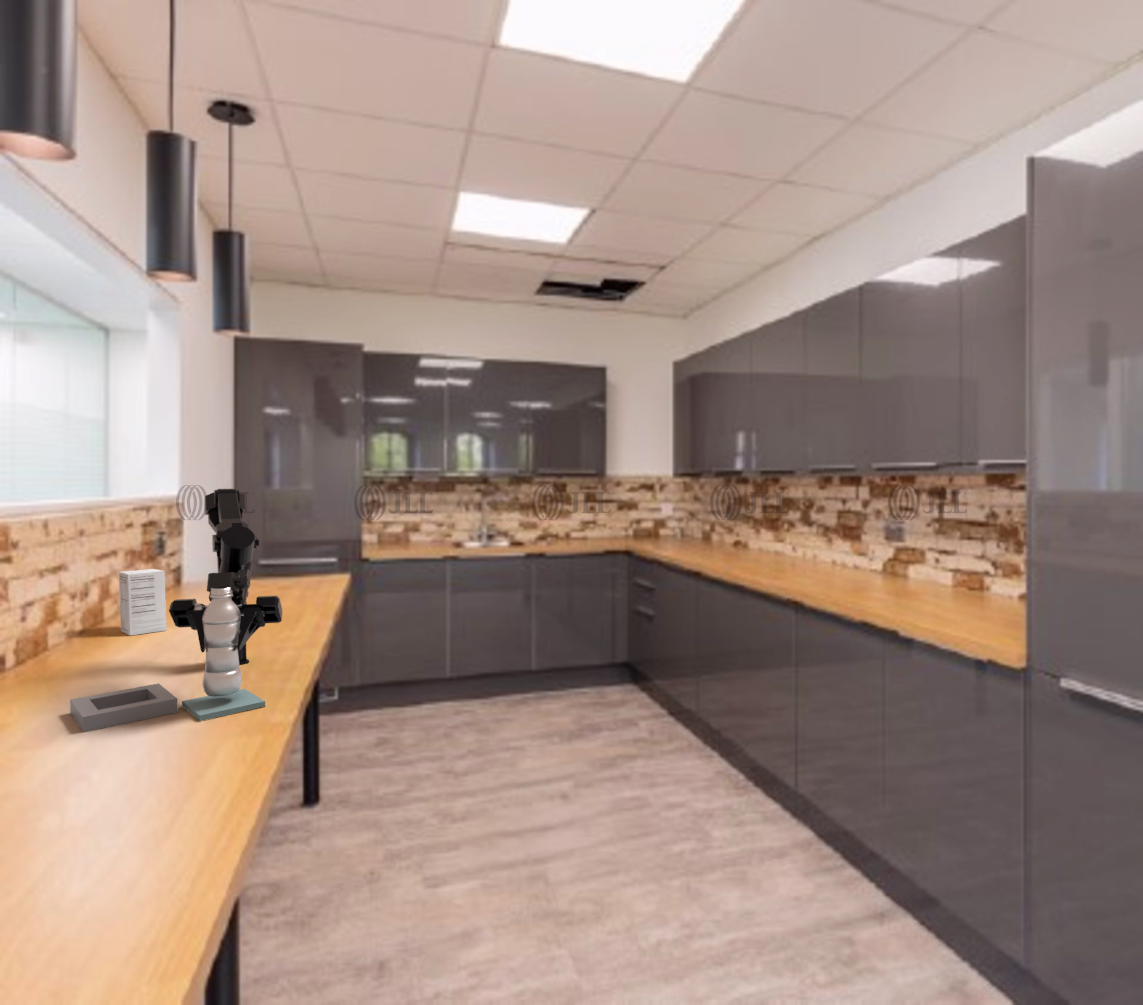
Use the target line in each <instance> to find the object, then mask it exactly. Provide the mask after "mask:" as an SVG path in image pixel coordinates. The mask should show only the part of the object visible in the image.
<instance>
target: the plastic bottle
mask: <svg viewBox="0 0 1143 1005" xmlns="http://www.w3.org/2000/svg"><path fill="white" fill-rule="evenodd" d="M230 588H231V587H230ZM230 588H223V589H213V588H211V595H210V598H212V601H209V603H208V604H207V605H208V606H207V608H206V609H205V611H204V613H203V616H202V623H203V629H204V634H205V644H206V649H205V664H204V672H203V677H202V689H203V692H204V693H205V694H206V696H214V697H218V696H226V695H231V694H234V693H236V692H237V691H238V690H240V689H241V687H242V682H243V681H242V680H243V677H242V671H241V667H240V664H239V657H238V649H237V643H238V634H239V627H240V620H241V613H240V610H239V608H238V607H237V606H236V604H235V603H234V602H233V601H232V599H231V597H233V589H230Z"/></svg>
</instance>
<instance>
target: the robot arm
mask: <svg viewBox="0 0 1143 1005" xmlns="http://www.w3.org/2000/svg"><path fill="white" fill-rule="evenodd" d="M203 506H204V516H207V519H208V520H207V522H208V524H209V526H210V527H211V529H212V530H213V531H214V532H215V534H212V539H211V540H212V543H211V544H212V552H213V553H216V562H217V572H210V573H208V574H207V585H206V591H207V592H208V593H209V594H208V599H209V602H211V601H212V598H210V595H211V588H213V589H223V588H230V587H231V588H230V589H233V597H231V599H232V601H233V602H234V603H235V604H236V606H237V607H238V608H239V610H240V613H241V620H240V627H239V634H238V643H237V649H238V657H239V665H242V664H248V663H250V660H249V659H247V658H248V657H247V642H248V641H249V639H251V637H252V636H253V635H254V634H255V633H256V632H257V630H259V629H260V628H263V627H265V626H266V624H279V623H281V622H282V621H283V608H282V603H281V598H280V597H279V596H277V595H261V596H260V595H259V596H257V597H256V599H255V603H249V604H247V599H248V597H249V589H250V586H251V575H252V569H253V558H254V557H253V556H254V551H255V550H256V549H257V546H258V547H259V546H260V540H259V538H257V536H255V533H254V532H253V531H252V530H251V528H250V525H249V524H248V523H246V522H244V521H242V519H243V514H244V515H245V512H246V510H247V509H246V507H247V506H246V495H245V494H244V493H241V492H240V490H239V489H237V488H218V489H214V490H213V492H212V493H209V494H207V495H205V496H204V505H203ZM208 605H209V604H207V605H206V604H203V603H200V602H199V603H198V602H197V600H196V598H181V599H173V601H172V602H171V603H170V605H169V609H168V612H169V614H170V616H171V619H172V621H173V624H174V625H175V626H176V627H177V628H191V630H193V631H197V636H198V643H199V649H200V651H201V653H205V652H206V644H205V634H204V629H203V623H202V616H203V613H204V611H205V609H206V608H207V606H208Z"/></svg>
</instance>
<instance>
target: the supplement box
mask: <svg viewBox="0 0 1143 1005" xmlns="http://www.w3.org/2000/svg"><path fill="white" fill-rule="evenodd" d="M118 582H119V584H118V586H119V598H120V599H119V614H120V615H119V616H120V617H119V618H120V632H122V633H124V634H126V635H128V636H130V637H131V636H135V635H136V636H139V635H145V634H150V633H151V634H152V633H157V632H165V631H167V605H166V604H167V602H166V601H167V600H166V571H164V570H162V569H157V568H149V569H138V570H137V569H136V570H124V571H119V572H118Z"/></svg>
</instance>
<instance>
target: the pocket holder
mask: <svg viewBox="0 0 1143 1005" xmlns="http://www.w3.org/2000/svg"><path fill="white" fill-rule="evenodd" d="M69 700H70V702H69V703H70V706H69V707H70V714H71V716H72V717H73V719H74V721H75V722H76V723H77V725H78V726H79V728H80V729H81V731H82V732H83V733H84V732H90V731H95V730H100V729H103V728H108V727H109V728H110V727H114V726H117V725H118V726H119V725H123V724H127V723H131V722H132V723H133V722H137V721H142V720H146V719H147V720H148V719H152V718H157V717H160V716H165V715H170V714H175V712H176V713H178V698H177V697H176V696H175V695H174V694H172V693H171V692H170V691H169V690H167V688H165V687H164V686H163V685H162V684H160V683H159V682H158V683H154V684H148V685H141V686H136V687H132V688H125V689H120V690H116V691H114V690H113V691H109V692H104V693H99V694H95V695H94V694H93V695H89V696H82V697H76V698H72V699H69Z"/></svg>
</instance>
